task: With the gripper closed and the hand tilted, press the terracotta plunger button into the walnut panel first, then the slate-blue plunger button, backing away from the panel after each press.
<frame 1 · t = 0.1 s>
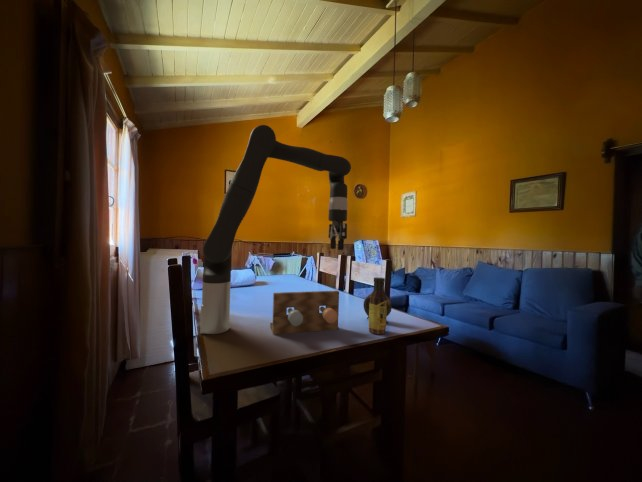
hand: (336, 249, 109), 29 cm above the table, tool pointing down, fingers open, 8 cm apart
slate button: (293, 314, 91), point 7 cm above the table, slide at 0.0 cm
alarm clock: (376, 322, 111), on the table
sauce bottle: (377, 332, 98), on the table
walnut panel: (306, 330, 97), on the table
terracotta button: (326, 312, 95), point 8 cm above the table, slide at 0.0 cm
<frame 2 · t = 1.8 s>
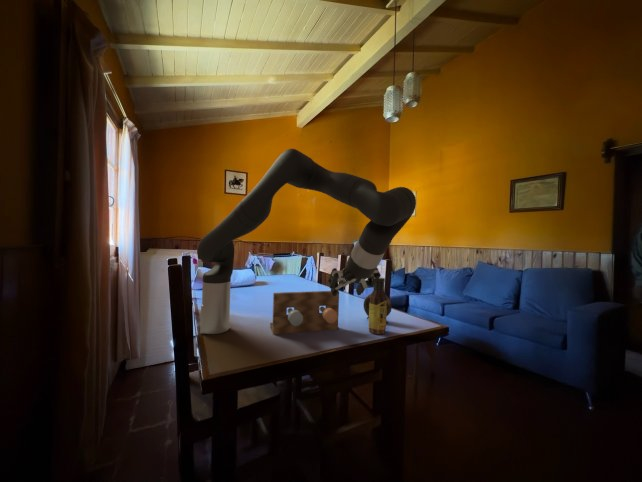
hand: (345, 293, 80), 18 cm above the table, tool tilted 45°, fingers open, 7 cm apart
nothing on the table moved.
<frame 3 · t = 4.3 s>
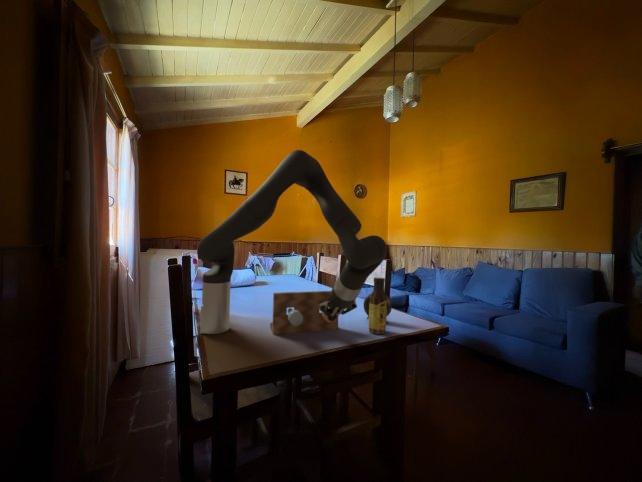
hand: (330, 318, 90), 7 cm above the table, tool tilted 45°, fingers closed
terracotta button: (325, 311, 96), point 7 cm above the table, slide at 1.0 cm, touching gripper
everything else where it was.
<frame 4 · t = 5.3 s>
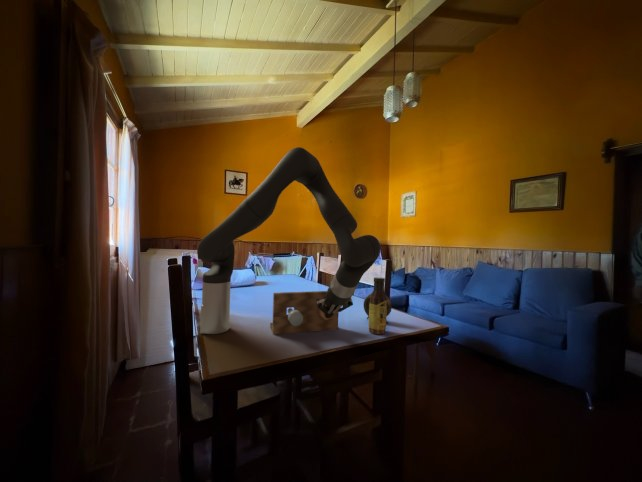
hand: (327, 315, 93), 7 cm above the table, tool tilted 45°, fingers closed
terracotta button: (322, 309, 99), point 8 cm above the table, slide at 4.0 cm, touching gripper
everything else where it was.
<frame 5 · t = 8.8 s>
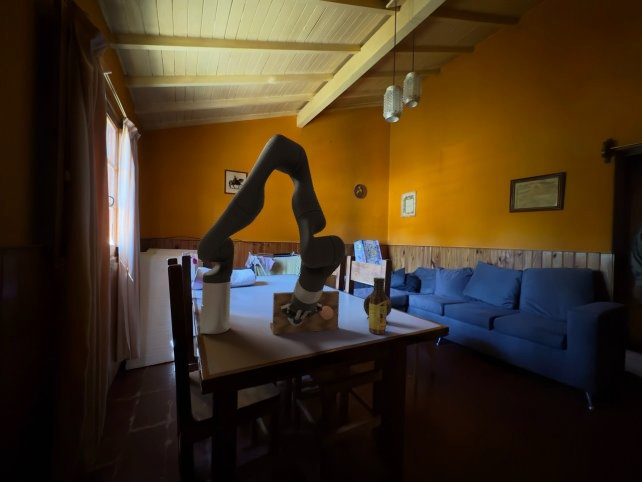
hand: (296, 321, 86), 7 cm above the table, tool tilted 45°, fingers closed
slate button: (293, 314, 91), point 7 cm above the table, slide at 0.0 cm, touching gripper
terracotta button: (322, 309, 99), point 7 cm above the table, slide at 4.0 cm
everything else where it was.
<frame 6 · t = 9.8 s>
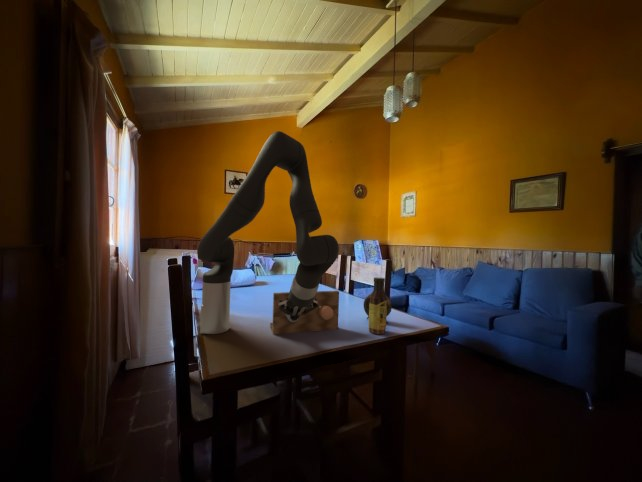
hand: (293, 317, 90), 7 cm above the table, tool tilted 45°, fingers closed
slate button: (290, 311, 95), point 8 cm above the table, slide at 4.0 cm, touching gripper
everything else where it was.
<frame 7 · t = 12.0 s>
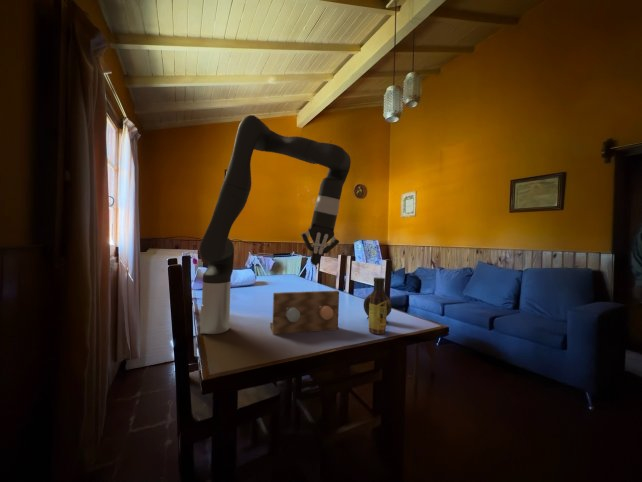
hand: (314, 264, 87), 25 cm above the table, tool pointing down, fingers closed
slate button: (290, 311, 95), point 7 cm above the table, slide at 4.0 cm
everything else where it was.
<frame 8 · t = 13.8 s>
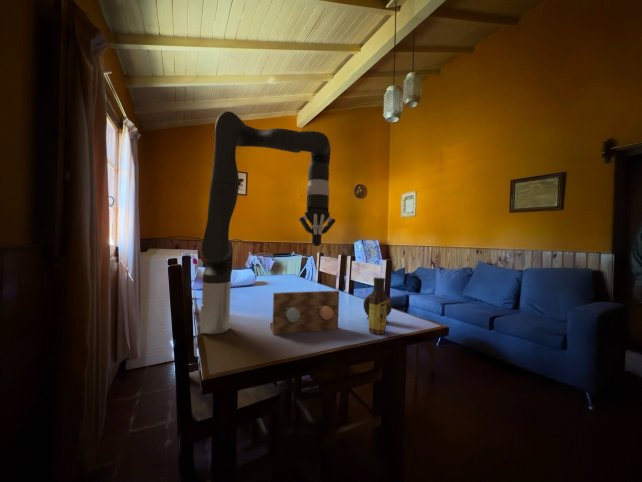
hand: (316, 245, 91), 31 cm above the table, tool pointing down, fingers closed
nothing on the table moved.
at the end: terracotta button slide at 4.0 cm; slate button slide at 4.0 cm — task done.
